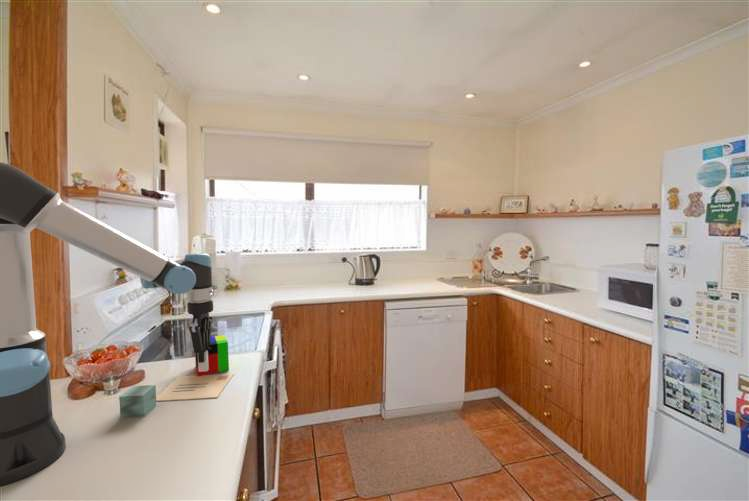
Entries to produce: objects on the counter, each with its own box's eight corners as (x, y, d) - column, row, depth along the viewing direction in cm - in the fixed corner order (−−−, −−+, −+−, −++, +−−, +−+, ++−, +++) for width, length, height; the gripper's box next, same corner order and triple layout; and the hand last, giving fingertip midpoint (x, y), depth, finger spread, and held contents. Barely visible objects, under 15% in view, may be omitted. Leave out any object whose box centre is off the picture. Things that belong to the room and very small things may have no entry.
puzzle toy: (195, 366, 123) (194, 339, 122) (225, 361, 128) (224, 335, 127) (196, 376, 114) (195, 347, 114) (228, 369, 119) (227, 341, 119)
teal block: (120, 418, 90) (119, 396, 90) (134, 406, 96) (132, 386, 95) (144, 416, 91) (143, 395, 90) (156, 405, 97) (155, 384, 96)
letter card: (152, 401, 98) (152, 400, 98) (178, 377, 114) (178, 376, 114) (217, 397, 100) (217, 396, 100) (233, 374, 116) (233, 373, 116)
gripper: (204, 304, 104) (207, 378, 106) (219, 296, 117) (222, 362, 119) (178, 305, 104) (182, 379, 105) (196, 296, 117) (199, 363, 118)
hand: (203, 370), depth 112 cm, fingers closed
